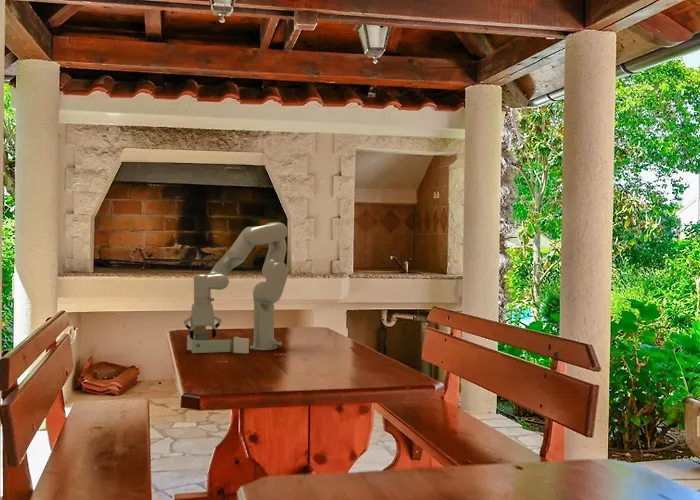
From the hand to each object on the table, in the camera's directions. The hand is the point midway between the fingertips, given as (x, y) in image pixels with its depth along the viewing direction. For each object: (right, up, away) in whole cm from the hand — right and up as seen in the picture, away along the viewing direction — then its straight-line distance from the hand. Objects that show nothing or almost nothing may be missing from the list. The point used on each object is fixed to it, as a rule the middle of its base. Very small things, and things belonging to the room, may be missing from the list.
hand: (202, 338), depth 344 cm
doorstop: (0, -6, 0) cm, 6 cm away
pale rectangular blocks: (+6, -6, +3) cm, 9 cm away
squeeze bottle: (-9, -6, +32) cm, 34 cm away
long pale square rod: (+5, -6, -3) cm, 8 cm away
